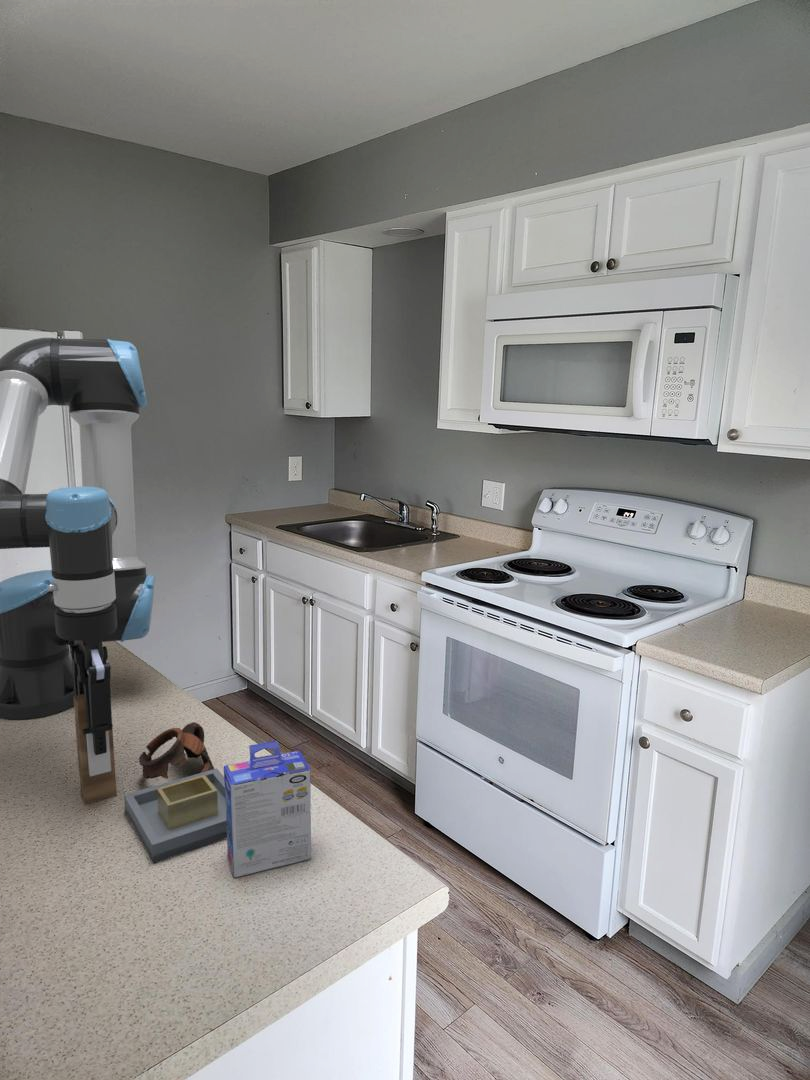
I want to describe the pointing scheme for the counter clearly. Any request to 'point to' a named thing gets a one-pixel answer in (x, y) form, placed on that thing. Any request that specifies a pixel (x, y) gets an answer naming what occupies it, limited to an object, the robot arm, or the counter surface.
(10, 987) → the counter surface
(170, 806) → the tan hollow wooden box
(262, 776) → the ink cartridge box
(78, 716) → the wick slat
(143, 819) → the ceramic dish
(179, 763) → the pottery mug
